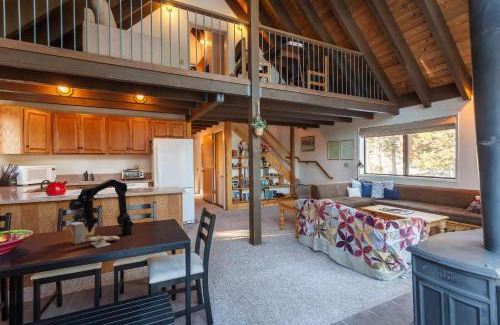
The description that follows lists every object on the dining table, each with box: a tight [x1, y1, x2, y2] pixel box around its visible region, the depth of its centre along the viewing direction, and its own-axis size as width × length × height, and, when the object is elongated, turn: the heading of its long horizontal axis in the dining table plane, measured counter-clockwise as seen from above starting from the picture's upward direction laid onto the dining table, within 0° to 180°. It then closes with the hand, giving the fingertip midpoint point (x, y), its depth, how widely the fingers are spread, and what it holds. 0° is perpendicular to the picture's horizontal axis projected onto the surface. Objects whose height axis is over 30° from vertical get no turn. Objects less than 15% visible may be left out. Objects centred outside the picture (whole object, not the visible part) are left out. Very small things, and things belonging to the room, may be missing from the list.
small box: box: [68, 221, 86, 245], centre depth 173 cm, size 8×6×13 cm
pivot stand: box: [91, 234, 111, 249], centre depth 168 cm, size 8×12×5 cm, turn 46°
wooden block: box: [83, 226, 96, 236], centre depth 163 cm, size 5×5×4 cm
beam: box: [80, 235, 120, 242], centre depth 168 cm, size 22×7×1 cm, turn 137°
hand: (88, 231), depth 162 cm, fingers closed on wooden block, 5 cm apart
